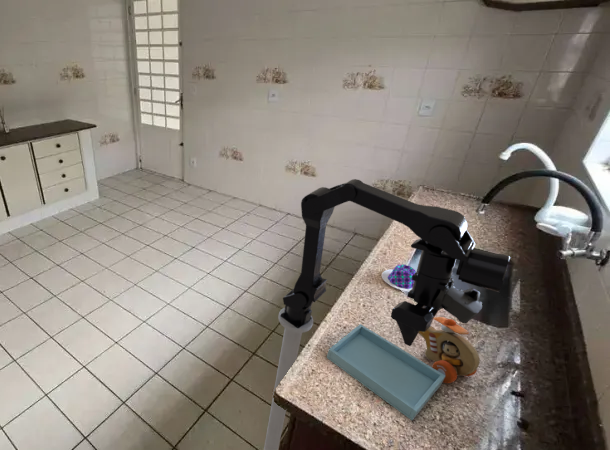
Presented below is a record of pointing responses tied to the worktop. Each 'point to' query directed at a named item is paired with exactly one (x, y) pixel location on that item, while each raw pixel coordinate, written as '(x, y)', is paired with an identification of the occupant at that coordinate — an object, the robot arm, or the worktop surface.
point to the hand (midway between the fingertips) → (416, 335)
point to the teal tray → (386, 370)
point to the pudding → (400, 277)
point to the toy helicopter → (450, 350)
